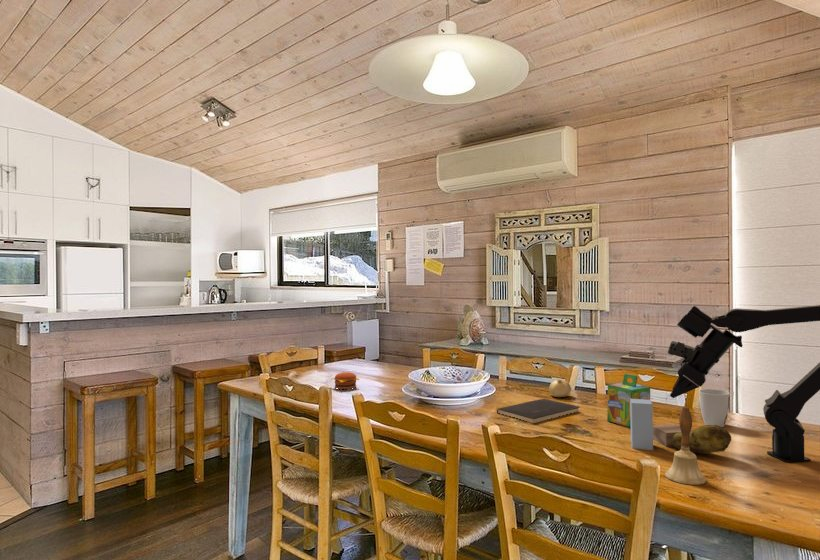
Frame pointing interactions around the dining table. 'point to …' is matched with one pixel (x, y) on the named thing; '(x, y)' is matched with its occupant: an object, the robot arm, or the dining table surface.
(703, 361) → the robot arm
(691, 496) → the dining table surface
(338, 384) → the hamburger
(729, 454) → the dining table surface
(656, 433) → the walnut box
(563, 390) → the onion
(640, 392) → the chalk box
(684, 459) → the hand bell
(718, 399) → the cup
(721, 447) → the potato
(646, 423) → the slate block
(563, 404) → the hardcover book
